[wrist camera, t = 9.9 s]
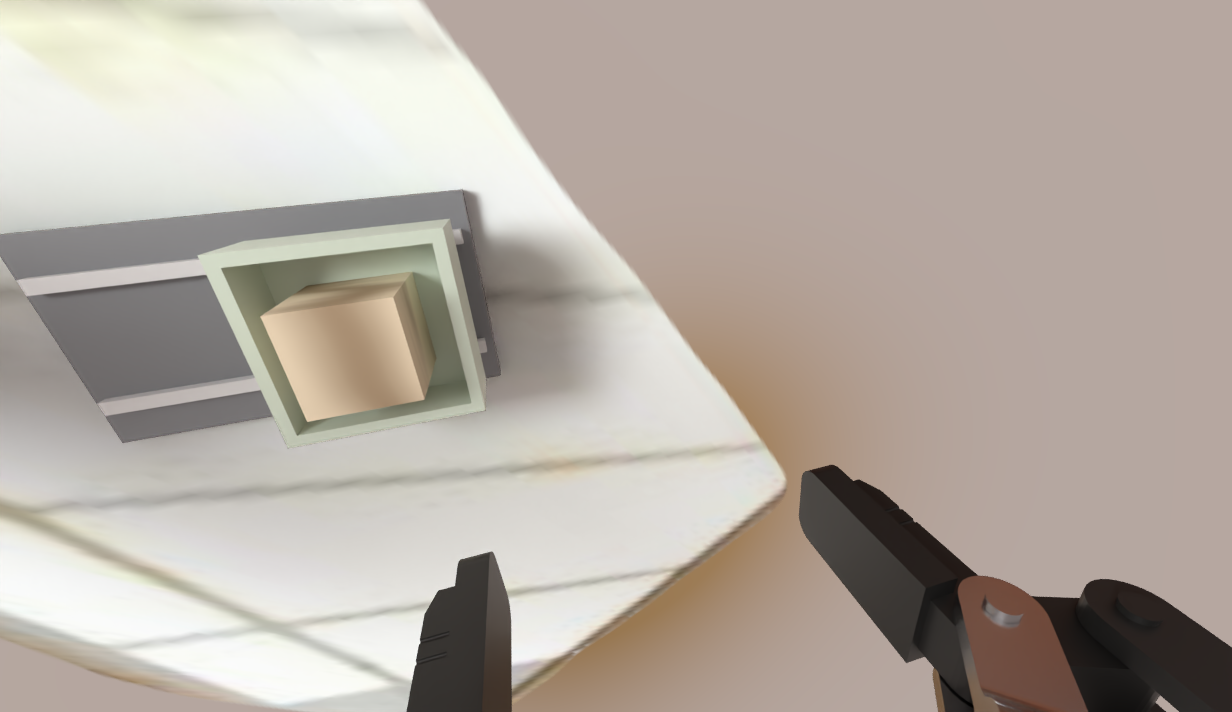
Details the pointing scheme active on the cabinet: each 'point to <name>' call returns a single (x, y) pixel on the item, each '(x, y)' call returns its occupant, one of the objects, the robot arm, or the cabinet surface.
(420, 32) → the cabinet surface
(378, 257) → the mint green tray
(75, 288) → the track
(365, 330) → the block
